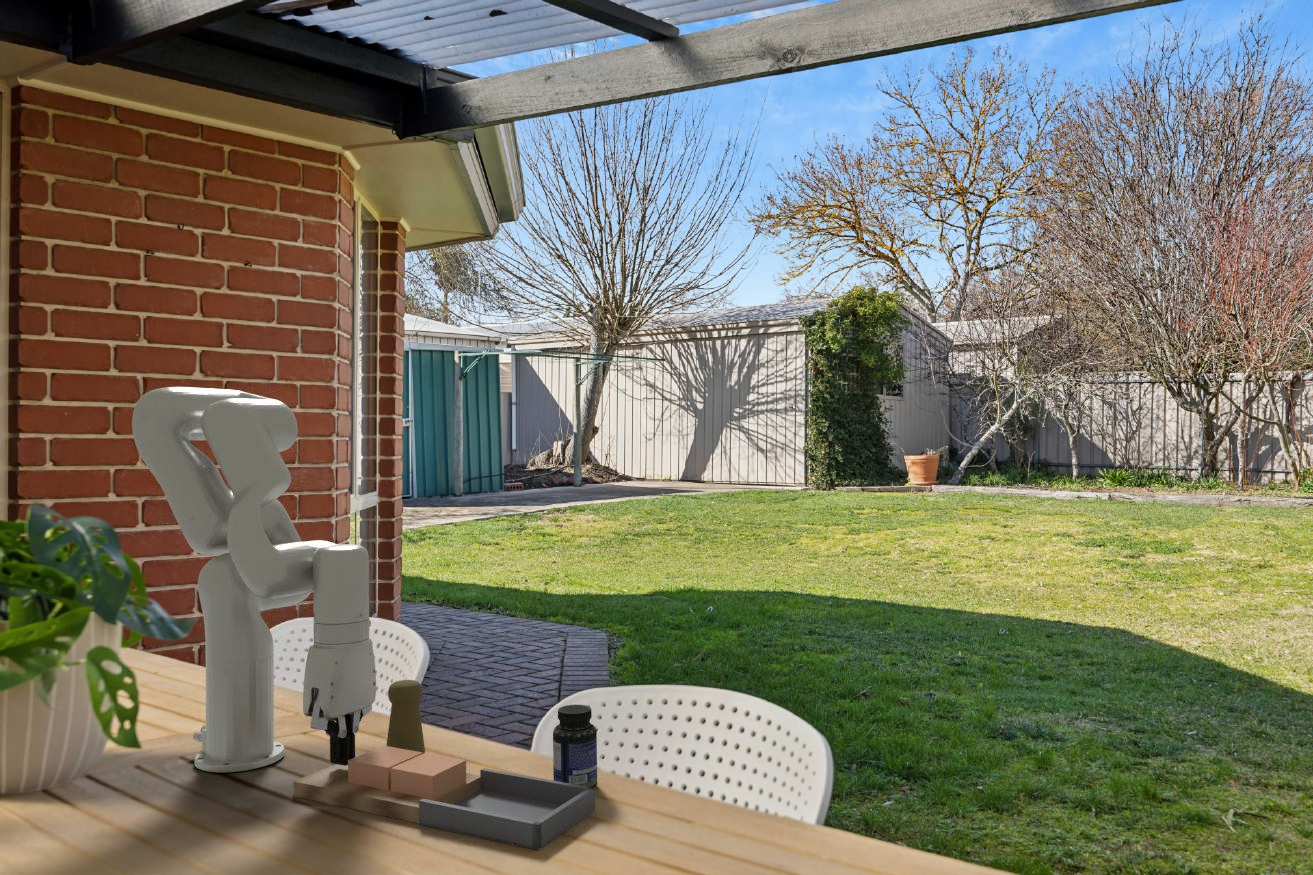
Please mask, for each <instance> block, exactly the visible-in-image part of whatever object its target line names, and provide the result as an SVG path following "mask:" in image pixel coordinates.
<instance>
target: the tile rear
mask: <svg viewBox="0 0 1313 875" xmlns="http://www.w3.org/2000/svg"><path fill="white" fill-rule="evenodd" d="M361 754H362V755H360V754H359V755H360V756H357V755H356V756H357V757H355V758H352V759H350V760H348V782H349V783H354V784H359V785H364V786H369V787H374V788H379V789H384V790H390V789H391V768H392V767H395V766H397V765H399V764H402V763H404V762H406V761H408V760H411V759H413V758H415V757H417V756H420V755H422V754H424V753H423V752H417V751H411V750H406V749H400V748H394V747H389V746H386V745H382V746H379V747H377V748H375V749H372V750H370V751H368V752H364V753H361Z"/></svg>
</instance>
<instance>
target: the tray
mask: <svg viewBox="0 0 1313 875" xmlns="http://www.w3.org/2000/svg"><path fill="white" fill-rule="evenodd" d="M479 772H480V774H479V775H480V790H478V791H476V792H475V793H473V794H471V795H469V796H467V797H465V798H463V799H461V800H460V801H458V802H456V803H454V804H447V803H442V802H437V801H432V800H428V799H421V800H419V823H418V824H419V826H425V827H430V828H433V829H438V830H442V831H447V832H452V833H456V834H461V835H466V836H469V837H474V838H480V839H482V840H488V841H493V842H496V843H497V842H498V843H501V842H503V844H507V845H511V844H513V845H512V846H515V845H516V847H520V846H522V847H521V848H525V849H529V850H533V851H534V850H535V851H540V850H541V849H542V848H544V847H545V846H547V845H548V844H549V843H551V842H552V841H554V840H555V839H557V838H558V837H560V836H561V835H563V834H564V833H566V832H567V831H568V830H570V829H572V827H574V826H576V825H578V824H579V823H580V822H581V821H583V820H584V819H586V818H587V817H589V816H590V815H592V814H593V813H595V812H596V788H592V787H587V786H581V785H576V784H570V783H564V782H559V781H554V779H548V778H541V777H537V776H531V775H525V774H518V773H513V772H507V771H504V770H498V769H491V768H485V767H483V768H480V770H479ZM562 833H563V834H562ZM559 835H560V836H559ZM546 844H547V845H546ZM543 846H544V847H543ZM540 848H541V849H540Z"/></svg>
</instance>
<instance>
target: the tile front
mask: <svg viewBox="0 0 1313 875" xmlns="http://www.w3.org/2000/svg"><path fill="white" fill-rule="evenodd" d="M466 773H467V759H462V758H457V757H450V756H444V755H439V754H434V753H427V752H424V753H423V754H422V755H420V756H417V757H415V758H413V759H411V760H408V761H406V762H404V763H402V764H399V765H397V766H395V767H392V768H391V791H394V792H399V793H404V794H409V795H414V796H419V797H424V798H429V799H434V798H436V797H438V796H440V795H442V794H444V793H446V792H448V791H450V790H452V789H454V788H456V787H458V786H460V785H462V784H464V783H466Z"/></svg>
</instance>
